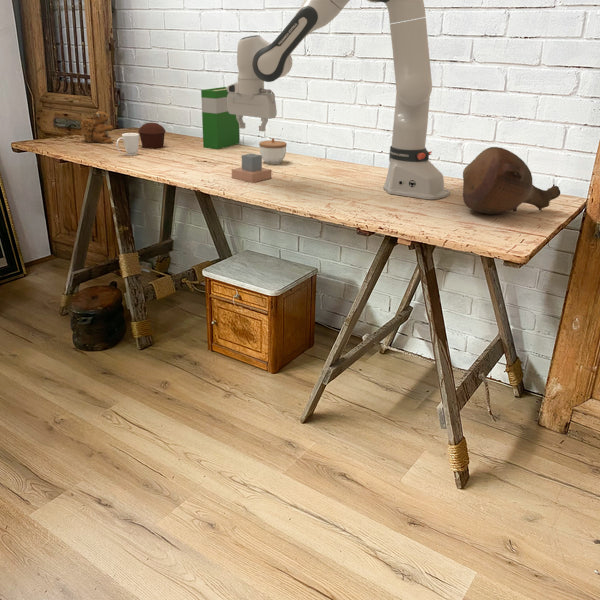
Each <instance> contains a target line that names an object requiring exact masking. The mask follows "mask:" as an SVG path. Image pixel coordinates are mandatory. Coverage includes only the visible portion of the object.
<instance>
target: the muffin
mask: <svg viewBox="0 0 600 600" xmlns="http://www.w3.org/2000/svg"><path fill="white" fill-rule="evenodd" d="M137 132H138V134H139V139H140V143H141V147H142V148H143V147H144V148H143V149H147V148H153V149H156V148H157V149H161V148H164V144H165V133H166V132H167V131H166V129H165V128H164V127H163V126H162V125H161V124H159V123H157V122H145V123H144V124H142V125H141V126H140V127H139V129H138V131H137ZM157 149H156V150H157Z"/></svg>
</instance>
